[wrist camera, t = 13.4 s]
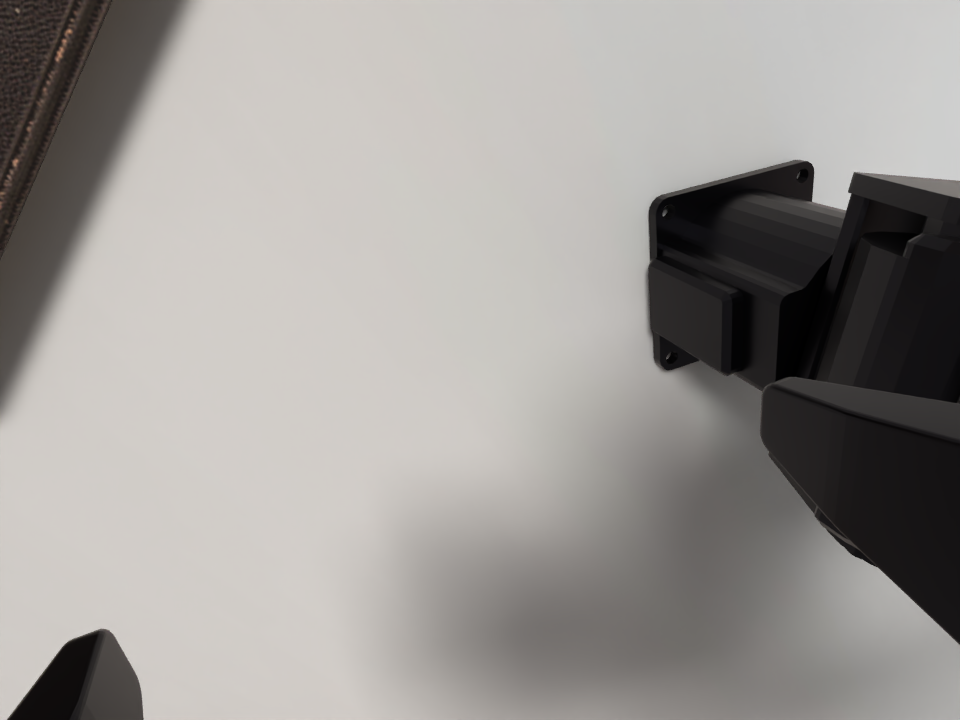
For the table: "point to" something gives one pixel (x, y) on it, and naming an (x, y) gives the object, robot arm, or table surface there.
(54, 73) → the hardcover book
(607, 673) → the table surface
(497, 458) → the table surface
